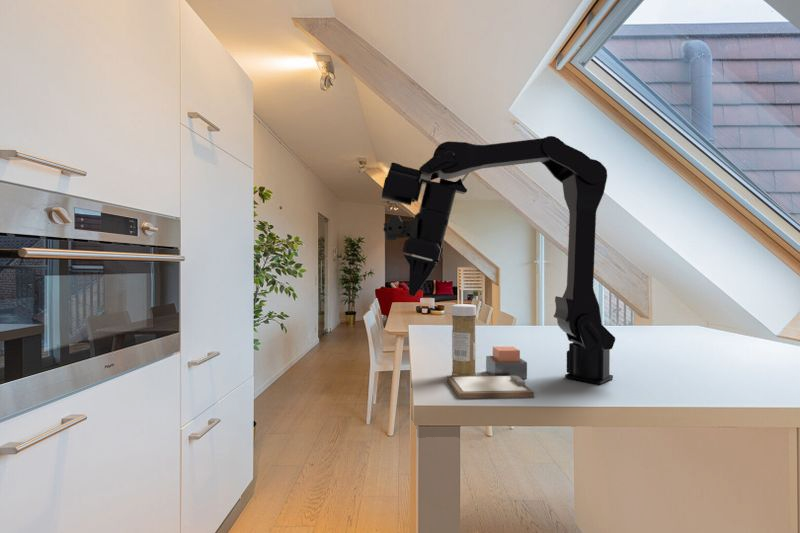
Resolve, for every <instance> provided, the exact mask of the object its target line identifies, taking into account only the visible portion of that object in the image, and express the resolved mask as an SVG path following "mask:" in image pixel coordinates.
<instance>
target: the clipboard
mask: <svg viewBox="0 0 800 533" xmlns="http://www.w3.org/2000/svg"><path fill="white" fill-rule="evenodd" d="M446 382H447V383H448V385H449V386H450V387H451V389H452V391H453V392H454V393H455V395H456V396H457V397H458V399H459V400H463V399H502V398H503V399H504V398H506V399H508V398H509V399H511V398H512V399H513V398H535V391H533V390H532V389H530V387H528V386H527V385H526V381H525V380H524V379H521V378H520V377H518V376H512V375H510V376H491V375H476V376H452V375H451V376H446Z"/></svg>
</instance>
